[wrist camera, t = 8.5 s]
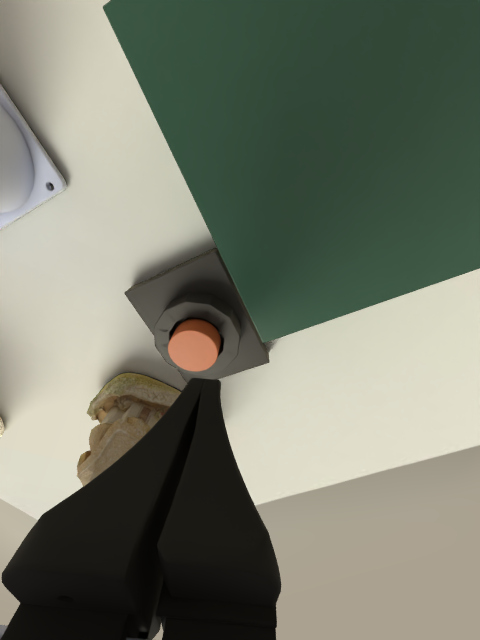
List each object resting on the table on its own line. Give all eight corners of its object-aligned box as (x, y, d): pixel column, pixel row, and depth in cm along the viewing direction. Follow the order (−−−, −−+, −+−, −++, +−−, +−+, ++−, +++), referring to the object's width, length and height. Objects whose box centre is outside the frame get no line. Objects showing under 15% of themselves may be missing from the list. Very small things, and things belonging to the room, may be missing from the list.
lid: (476, 261, 12) (488, 265, 12) (262, 337, 15) (263, 343, 14) (454, -250, 6) (476, -297, 6) (112, 18, 9) (101, 6, 8)
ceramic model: (239, 428, 28) (233, 539, 19) (178, 468, 32) (149, 575, 23) (134, 353, 24) (63, 450, 15) (79, 410, 28) (-2, 513, 19)
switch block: (193, 378, 25) (185, 402, 22) (131, 286, 21) (112, 302, 18) (268, 353, 23) (270, 376, 20) (217, 246, 19) (211, 257, 16)
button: (189, 363, 21) (183, 377, 19) (165, 328, 19) (157, 340, 18) (228, 349, 20) (226, 363, 18) (207, 311, 18) (202, 322, 17)
